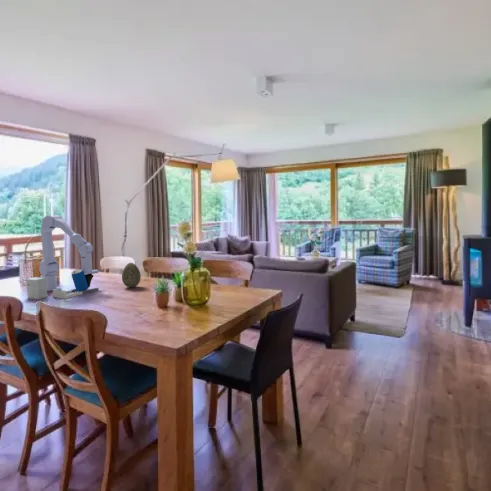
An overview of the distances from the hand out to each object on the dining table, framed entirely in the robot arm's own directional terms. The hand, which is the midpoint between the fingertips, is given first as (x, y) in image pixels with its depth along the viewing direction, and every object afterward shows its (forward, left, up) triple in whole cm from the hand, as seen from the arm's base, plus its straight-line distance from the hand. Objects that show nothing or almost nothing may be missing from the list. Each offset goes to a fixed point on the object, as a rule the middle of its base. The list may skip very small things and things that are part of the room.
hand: (87, 287), depth 213 cm
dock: (0, -8, -2) cm, 8 cm away
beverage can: (0, -3, -1) cm, 4 cm away
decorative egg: (+17, +17, -2) cm, 24 cm away
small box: (-11, -24, -2) cm, 26 cm away
